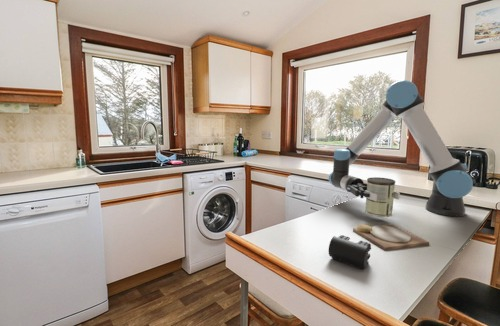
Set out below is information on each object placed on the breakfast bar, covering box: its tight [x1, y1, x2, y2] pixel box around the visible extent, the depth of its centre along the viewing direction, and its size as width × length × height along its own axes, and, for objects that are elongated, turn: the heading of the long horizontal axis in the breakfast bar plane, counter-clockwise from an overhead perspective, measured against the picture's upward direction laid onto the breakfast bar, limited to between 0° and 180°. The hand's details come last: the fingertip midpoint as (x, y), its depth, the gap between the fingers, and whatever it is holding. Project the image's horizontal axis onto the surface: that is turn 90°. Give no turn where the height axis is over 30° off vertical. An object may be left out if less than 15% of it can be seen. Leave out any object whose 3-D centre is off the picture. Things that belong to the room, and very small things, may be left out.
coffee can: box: [364, 176, 396, 218], centre depth 112 cm, size 10×10×14 cm
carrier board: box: [352, 224, 430, 251], centre depth 96 cm, size 18×16×2 cm
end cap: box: [328, 234, 372, 270], centre depth 78 cm, size 10×7×7 cm
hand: (387, 196), depth 107 cm, fingers closed on coffee can, 10 cm apart
